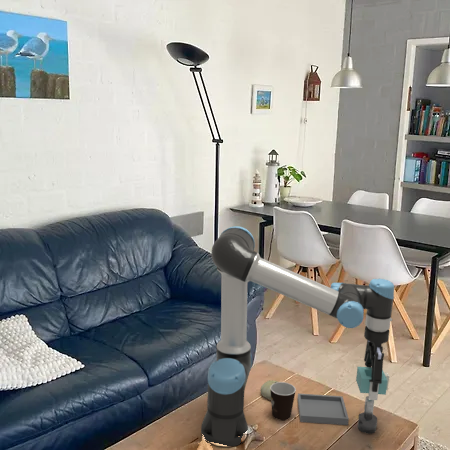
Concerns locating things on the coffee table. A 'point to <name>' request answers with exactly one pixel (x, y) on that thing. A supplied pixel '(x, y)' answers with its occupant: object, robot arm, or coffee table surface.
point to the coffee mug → (282, 400)
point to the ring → (365, 376)
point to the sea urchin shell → (267, 389)
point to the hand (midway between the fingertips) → (370, 391)
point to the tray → (322, 409)
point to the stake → (367, 418)
